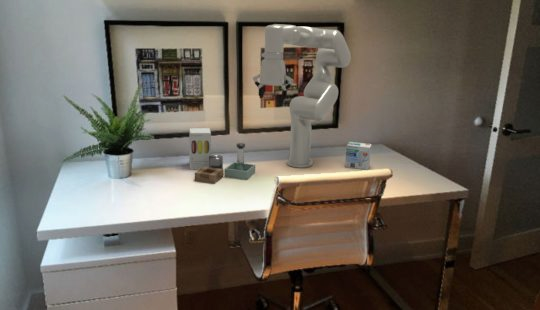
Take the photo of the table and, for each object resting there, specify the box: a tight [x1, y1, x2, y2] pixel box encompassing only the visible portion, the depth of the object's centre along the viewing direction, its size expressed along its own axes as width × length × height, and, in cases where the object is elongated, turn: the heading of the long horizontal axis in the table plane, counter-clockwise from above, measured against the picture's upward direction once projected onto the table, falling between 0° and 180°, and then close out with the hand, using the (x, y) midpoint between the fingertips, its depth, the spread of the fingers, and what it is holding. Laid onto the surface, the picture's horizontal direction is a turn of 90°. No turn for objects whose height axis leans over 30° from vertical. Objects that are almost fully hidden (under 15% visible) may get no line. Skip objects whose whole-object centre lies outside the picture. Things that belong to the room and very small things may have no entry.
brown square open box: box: [194, 167, 224, 185], centre depth 198 cm, size 9×9×4 cm
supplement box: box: [188, 127, 212, 170], centre depth 212 cm, size 10×9×17 cm
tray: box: [224, 161, 256, 181], centre depth 204 cm, size 10×10×4 cm
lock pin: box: [236, 142, 246, 171], centre depth 203 cm, size 4×4×13 cm
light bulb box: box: [344, 141, 372, 171], centre depth 219 cm, size 11×7×11 cm, turn 71°
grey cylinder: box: [209, 154, 224, 170], centre depth 206 cm, size 6×6×8 cm
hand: (272, 98), depth 196 cm, fingers open, 9 cm apart
